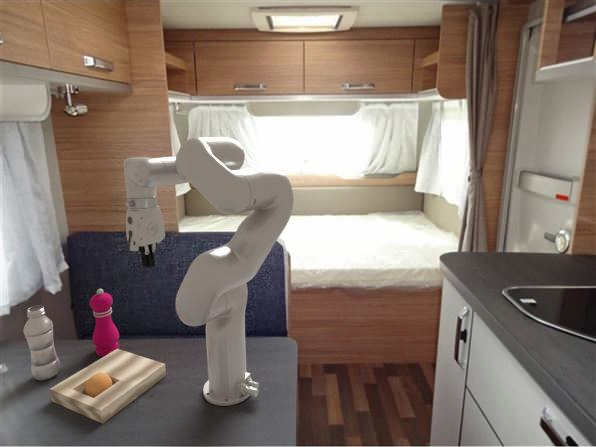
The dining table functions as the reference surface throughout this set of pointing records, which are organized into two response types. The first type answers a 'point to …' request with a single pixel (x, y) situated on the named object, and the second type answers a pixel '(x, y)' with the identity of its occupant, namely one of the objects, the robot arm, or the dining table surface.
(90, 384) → the ball
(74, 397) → the hole board
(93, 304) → the pepper mill
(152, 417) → the dining table surface
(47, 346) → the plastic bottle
